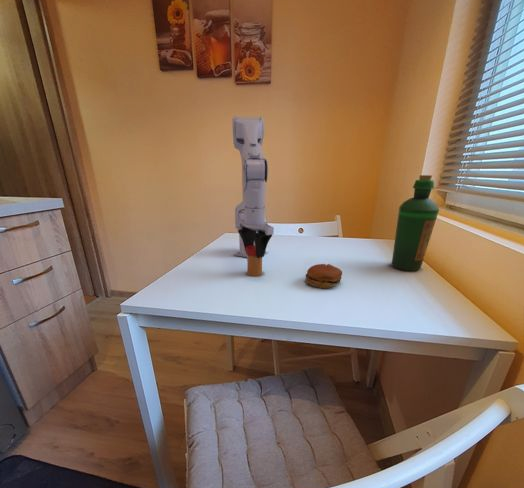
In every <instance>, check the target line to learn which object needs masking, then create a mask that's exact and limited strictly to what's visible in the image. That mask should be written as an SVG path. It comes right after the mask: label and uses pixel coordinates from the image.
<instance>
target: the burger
mask: <svg viewBox="0 0 524 488" xmlns="http://www.w3.org/2000/svg"><path fill="white" fill-rule="evenodd" d="M342 276H343V271H342V269H340V268H339V267H338V266H334V265H332V264H330V263H327V264H326V263H319V264H313V265H312V266H310V267H309V268H308V269H307V271H306V273H305V279H306V283H307V284H308V285H309V286H312V287H315V288H319V289H330V288H333V287H334V286H336V285H338V284H339V283H341V280H342Z"/></svg>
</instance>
